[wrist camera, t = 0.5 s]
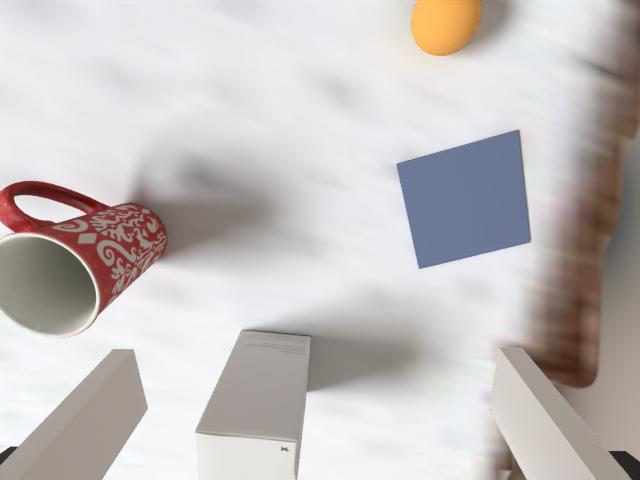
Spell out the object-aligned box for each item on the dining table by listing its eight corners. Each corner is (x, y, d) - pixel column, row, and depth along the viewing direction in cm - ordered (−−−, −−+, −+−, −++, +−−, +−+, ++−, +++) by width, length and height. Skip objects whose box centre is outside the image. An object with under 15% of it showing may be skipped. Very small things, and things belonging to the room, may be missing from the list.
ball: (399, 3, 31) (413, -21, 26) (461, -18, 30) (488, -47, 25) (412, 68, 32) (426, 58, 27) (471, 50, 32) (497, 35, 27)
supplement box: (239, 327, 42) (191, 430, 28) (312, 334, 42) (300, 441, 28) (238, 387, 45) (194, 507, 31) (306, 394, 45) (293, 517, 31)
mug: (191, 253, 39) (122, 314, 27) (127, 283, 41) (33, 354, 28) (127, 150, 36) (13, 164, 23) (60, 187, 38) (-81, 218, 25)
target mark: (396, 164, 35) (396, 164, 35) (517, 130, 34) (518, 130, 34) (418, 268, 39) (419, 268, 39) (529, 241, 37) (530, 242, 37)
